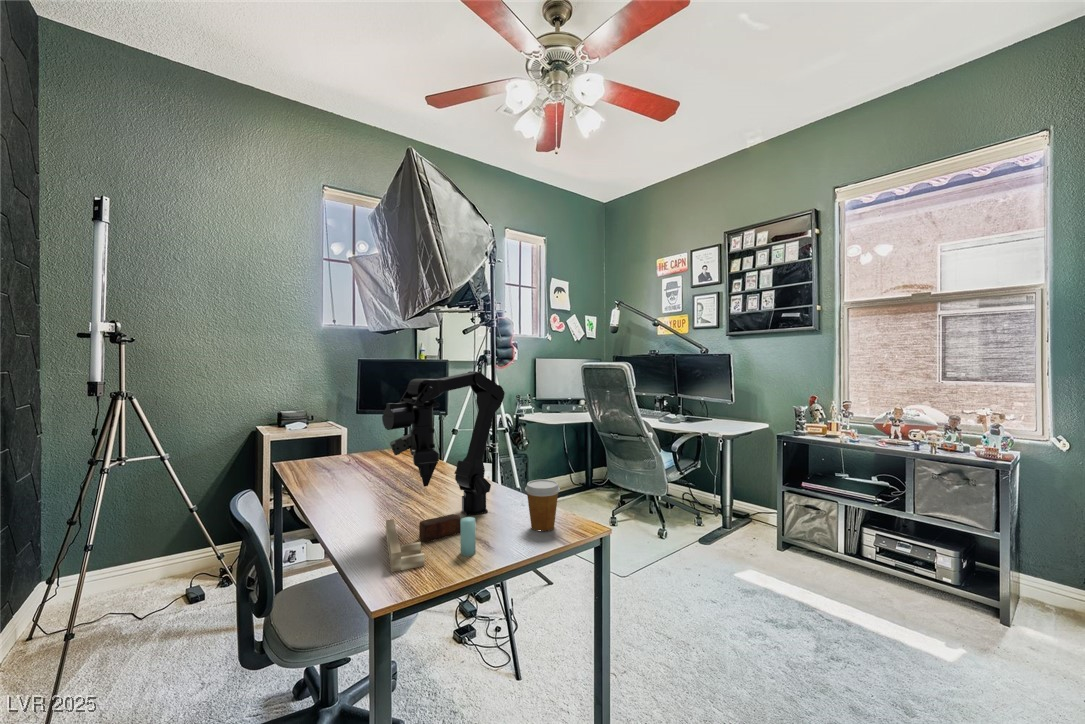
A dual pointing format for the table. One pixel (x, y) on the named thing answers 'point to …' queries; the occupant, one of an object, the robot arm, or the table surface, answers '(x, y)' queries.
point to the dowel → (468, 536)
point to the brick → (439, 527)
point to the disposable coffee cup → (542, 503)
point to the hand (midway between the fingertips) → (424, 481)
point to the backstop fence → (402, 551)
